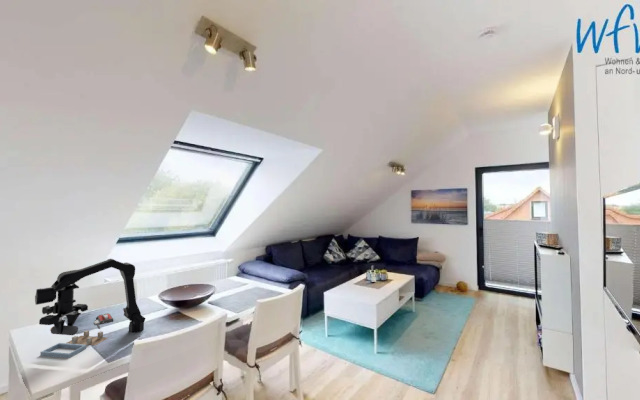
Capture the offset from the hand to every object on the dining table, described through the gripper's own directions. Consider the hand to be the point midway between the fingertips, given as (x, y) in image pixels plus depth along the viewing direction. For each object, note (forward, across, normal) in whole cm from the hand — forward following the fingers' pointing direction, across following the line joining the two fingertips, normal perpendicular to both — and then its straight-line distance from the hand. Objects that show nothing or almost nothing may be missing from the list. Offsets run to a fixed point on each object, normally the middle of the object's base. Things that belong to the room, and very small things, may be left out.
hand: (64, 331), depth 136 cm
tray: (+11, 0, 0) cm, 11 cm away
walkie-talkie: (+11, -33, -10) cm, 36 cm away
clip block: (+11, -11, +1) cm, 16 cm away
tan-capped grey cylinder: (+1, 0, 0) cm, 1 cm away
